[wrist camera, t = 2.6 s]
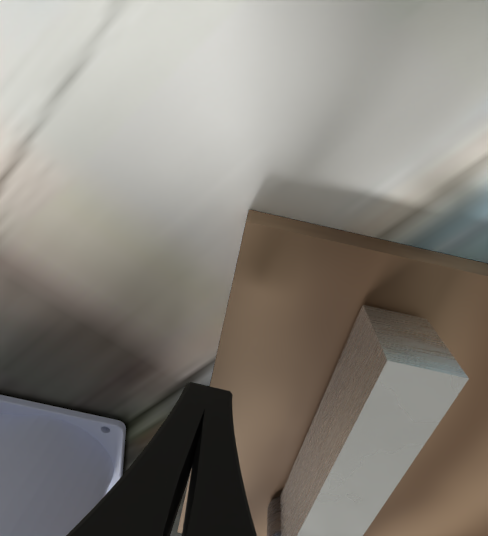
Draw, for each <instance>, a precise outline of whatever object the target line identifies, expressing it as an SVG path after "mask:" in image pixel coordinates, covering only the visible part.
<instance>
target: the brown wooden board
mask: <svg viewBox="0 0 488 536" xmlns="http://www.w3.org/2000/svg"><path fill="white" fill-rule="evenodd" d="M363 305H366V306H371V307H375V308H380V309H384V310H389V311H393V312H398V313H402V314H407V315H411V316H415V317H420V318H424V319H427V320H428V321H429V323H430V324H431V326H432V327H433V329H434V330H435V331H436V333H437V334H438V336H439V337H440V338H441V340H442V341H443V343H444V344H445V345H446V347H447V348H448V350H449V351H450V352H451V354H452V355H453V357H454V358H455V360H456V361H457V362H458V364H459V365H460V367H461V368H462V369H463V371H464V372H465V374H466V375H467V376H468V378H469V379H468V381H467V382H466V384H465V385H464V387H463V388H462V390H461V391H460V393H459V394H458V396H457V397H456V399H455V400H454V402H453V403H452V405H451V406H450V408H449V409H448V411H447V412H446V414H445V415H444V416H443V418H442V419H441V421H440V422H439V424H438V425H437V427H436V428H435V430H434V431H433V433H432V434H431V436H430V437H429V439H428V440H427V442H426V443H425V445H424V446H423V448H422V449H421V451H420V452H419V453H418V455H417V456H416V458H415V459H414V461H413V462H412V464H411V465H410V467H409V468H408V470H407V471H406V473H405V474H404V476H403V477H402V479H401V480H400V482H399V483H398V485H397V486H396V487H395V489H394V490H393V492H392V493H391V495H390V496H389V498H388V499H387V501H386V502H385V504H384V505H383V507H382V508H381V510H380V511H379V513H378V514H377V516H376V517H375V519H374V520H373V522H372V523H371V524H370V526H369V527H368V529H367V530H366V532H365V533H364V535H363V536H488V264H487V263H483V262H478V261H474V260H469V259H465V258H461V257H456V256H452V255H447V254H443V253H439V252H434V251H430V250H425V249H421V248H417V247H412V246H408V245H403V244H399V243H395V242H390V241H386V240H382V239H377V238H373V237H368V236H364V235H360V234H355V233H351V232H346V231H342V230H338V229H333V228H329V227H324V226H320V225H316V224H311V223H307V222H302V221H298V220H294V219H289V218H285V217H280V216H276V215H272V214H267V213H263V212H259V211H254V210H250V209H249V211H248V215H247V219H246V224H245V228H244V233H243V237H242V242H241V246H240V251H239V255H238V260H237V264H236V269H235V274H234V278H233V283H232V287H231V292H230V296H229V301H228V305H227V310H226V314H225V319H224V323H223V328H222V332H221V337H220V342H219V346H218V351H217V355H216V360H215V364H214V369H213V373H212V378H211V382H210V387H214V388H219V389H223V390H228V391H230V392H231V393H232V395H233V396H232V411H233V424H234V433H235V440H236V447H237V452H238V458H239V464H240V469H241V474H242V479H243V483H244V488H245V492H246V496H247V501H248V505H249V508H250V512H251V516H252V520H253V523H254V527H255V530H256V534H257V536H267V508H268V505H269V503H270V502H271V501H272V500H273V499H275V498H276V497H278V496H280V495H281V493H282V491H283V488H284V486H285V484H286V482H287V479H288V477H289V475H290V472H291V470H292V468H293V465H294V463H295V461H296V458H297V456H298V454H299V451H300V449H301V447H302V444H303V442H304V440H305V438H306V435H307V433H308V431H309V428H310V426H311V424H312V421H313V419H314V417H315V414H316V412H317V410H318V407H319V405H320V403H321V400H322V398H323V396H324V394H325V391H326V389H327V387H328V384H329V382H330V380H331V377H332V375H333V373H334V370H335V368H336V366H337V363H338V361H339V359H340V357H341V354H342V352H343V350H344V347H345V345H346V343H347V340H348V338H349V336H350V333H351V331H352V329H353V326H354V324H355V322H356V319H357V317H358V315H359V313H360V310H361V308H362V306H363ZM191 470H192V468H191ZM190 476H191V473H190ZM189 483H190V478H189V482H188V487H187V491H186V496H185V500H184V505H183V509H182V514H181V518H180V523H179V527H178V532H179V533H182V531H183V524H184V517H185V510H186V503H187V497H188V490H189Z"/></svg>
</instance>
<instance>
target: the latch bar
mask: <svg viewBox="0 0 488 536" xmlns="http://www.w3.org/2000/svg"><path fill="white" fill-rule="evenodd" d="M468 379H469V378H468V376H467V375H466V374H465V372H464V371H463V369H462V368H461V367H460V365H459V364H458V362H457V361H456V360H455V358H454V357H453V355H452V354H451V352H450V351H449V350H448V348H447V347H446V345H445V344H444V343H443V341H442V340H441V338H440V337H439V336H438V334H437V333H436V331H435V330H434V329H433V327H432V326H431V324H430V323H429V321H428V320H427V319H424V318H420V317H415V316H411V315H407V314H402V313H398V312H393V311H389V310H384V309H380V308H375V307H371V306H366V305H363V306H362V308H361V310H360V313H359V315H358V317H357V319H356V322H355V324H354V326H353V329H352V331H351V333H350V336H349V338H348V340H347V343H346V345H345V347H344V350H343V352H342V354H341V357H340V359H339V361H338V363H337V366H336V368H335V370H334V373H333V375H332V377H331V380H330V382H329V384H328V387H327V389H326V391H325V394H324V396H323V398H322V400H321V403H320V405H319V407H318V410H317V412H316V414H315V417H314V419H313V421H312V424H311V426H310V428H309V431H308V433H307V435H306V438H305V440H304V442H303V444H302V447H301V449H300V451H299V454H298V456H297V458H296V461H295V463H294V465H293V468H292V470H291V472H290V475H289V477H288V479H287V482H286V484H285V486H284V488H283V491H282V493H281V495H280V496H278V497H276V498H275V499H273V500H272V501H271V502H270V503H269V505H268V508H267V536H363V535H364V533H365V532H366V530H367V529H368V527H369V526H370V524H371V523H372V522H373V520H374V519H375V517H376V516H377V514H378V513H379V511H380V510H381V508H382V507H383V505H384V504H385V502H386V501H387V499H388V498H389V496H390V495H391V493H392V492H393V490H394V489H395V487H396V486H397V485H398V483H399V482H400V480H401V479H402V477H403V476H404V474H405V473H406V471H407V470H408V468H409V467H410V465H411V464H412V462H413V461H414V459H415V458H416V456H417V455H418V453H419V452H420V451H421V449H422V448H423V446H424V445H425V443H426V442H427V440H428V439H429V437H430V436H431V434H432V433H433V431H434V430H435V428H436V427H437V425H438V424H439V422H440V421H441V419H442V418H443V416H444V415H445V414H446V412H447V411H448V409H449V408H450V406H451V405H452V403H453V402H454V400H455V399H456V397H457V396H458V394H459V393H460V391H461V390H462V388H463V387H464V385H465V384H466V382H467V381H468Z"/></svg>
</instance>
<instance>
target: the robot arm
mask: <svg viewBox="0 0 488 536" xmlns="http://www.w3.org/2000/svg"><path fill="white" fill-rule="evenodd" d="M232 396H233V395H232V393H231V392H230V391H228V390H223V389H219V388H214V387H210V386H205V385H201V384H196V383H192V382H190V383H188V384H186V386H185V388H184V390H183V392H182V394H181V396H180V398H179V400H178V401H177V403H176V405H175V406H174V408H173V409H172V411H171V412H170V414H169V416H168V417H167V419H166V420H165V421H164V423H163V424H162V426H161V427H160V428H159V430H158V431H157V433H156V434H155V435H154V437H153V438H152V440H151V441H150V442H149V444H148V445H147V446H146V447H145V449H144V450H143V451H142V452H141V454H140V455H139V456H138V457H137V459H136V460H135V461H134V462H133V464H132V465H131V466H130V467H129V469H128V470H127V471H126V472H125V473H124V474H123V461H124V448H125V435H126V426H125V424H124V423H123V422H121V421H119V420H115V419H111V418H106V417H102V416H97V415H92V414H88V413H83V412H79V411H74V410H69V409H65V408H60V407H55V406H51V405H46V404H42V403H37V402H32V401H28V400H23V399H19V398H14V397H9V396H5V395H0V536H170V534H171V531H172V527H173V524H174V521H175V518H176V515H177V512H178V509H179V506H180V503H181V499H182V496H183V493H184V490H185V487H186V484H187V481H188V478H189V474H190V471H191V476H190V483H189V490H188V497H187V503H186V510H185V517H184V524H183V531H182V536H257V534H256V530H255V527H254V523H253V520H252V516H251V512H250V508H249V505H248V501H247V496H246V492H245V488H244V483H243V479H242V474H241V469H240V464H239V458H238V452H237V447H236V440H235V433H234V424H233V411H232ZM191 468H192V470H191ZM122 474H123V476H122Z"/></svg>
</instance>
